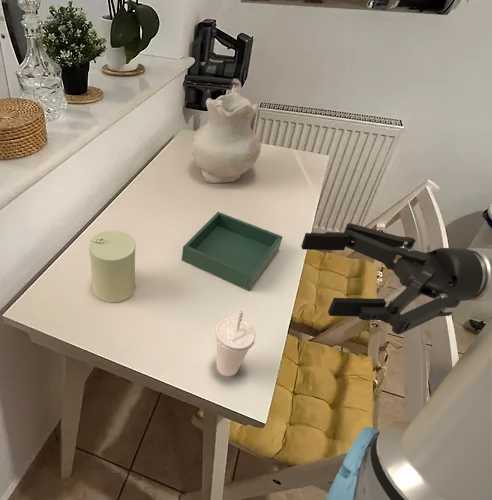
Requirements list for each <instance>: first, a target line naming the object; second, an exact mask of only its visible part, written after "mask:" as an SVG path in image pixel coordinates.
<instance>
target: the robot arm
mask: <svg viewBox="0 0 492 500" xmlns="http://www.w3.org/2000/svg"><path fill="white" fill-rule="evenodd" d="M415 243H416V239H415V238H414V237H411V236H400V235H396V234H392V233H388V232H384V231H381V230H378V229H373V228H370V227H366V226H362V225H358V224H355V223H351V222H348V223H346V226H345V227H344V231H342V232H341V231H340V232H339V231H335V232H334V231H332V232H331V231H326V232H305V234H304V237H303V240H302V243H301V246H300V248H301V249H302V250H307V251H308V250H309V251H310V250H311V251H345V249H346V248H347V249H350V250H352V251H354V252H357V253H359V254H361V255H363V256H366V257H368V258H370V259H373V260H374V261H377V262H379V263H381V264H384V266H385V268H387V269H389V270H391V271H393V274H394V275H395V276H396V277H397V278H398V279H399V283H400V285H401V286H402V287H405V289H404V290H402V292H400V293H399V294H398V295H397V296H396V297H395V298H394V299H392V300H390V301H389V303H388V305H387V301H386V300H385V298H368V297H367V298H365V297H364V298H360V297H358V298H357V297H333V299H332V301H331V303H330V305H329V308H328V310H327V314H328V316H329V317H354V318H355V317H357V318H358V319H359V320H362V321H376V322H377V321H378V322H379V321H381V322H383V323H385V324H389V326H390V327H391V331H392V332H393V333H394V334H396V335H402V334H404V333H406V332H408V331H410V330H413V329H415V328H416V327H418V326H421V325H423V324H425V323H427V322H429V321H431V320H434V319H436V318H437V317H450V316H452V314H453V313H454V312H455V310H456V309H457V307H458V306H459V305H460V303H461V302H465V301H466V302H467V301H471V302H492V248H486V247H485V248H481V247H469V248H464V247H437V248H436V249H433V250H431V251H429V252H424V251H420V250H416V247H415V246H414V245H415ZM397 256H400V257H399V258H398V259H397V261H396V263H395V259H396V257H397ZM420 295H423V296H425V297H427V298H431V300H430V301H428V302H425V303H424V304H421V305H419V306H417V307H414V308H413V309H411V310H408V311H406V312H404V313H402V312H403V311H404V310H405V309H406V308H407V307H408V306H409V305H410V304H411V303H412V302H414V301H415V300H416V299H417V298H418V297H419V296H420ZM386 305H387V306H386ZM325 500H492V316H491V317H490V318H489V320H488V321H487V322H486V323H485V325H484V326H483V328H482V329H481V330H480V331H479V333H478V334H477V335H476V336H475V338H474V339H473V340H472V342H471V343H470V344H469V346H468V347H467V348H466V350H465V351H463V354H461V356H460V357H459V359H458V360H457V361H456V363H455V364H454V365H453V367H452V368H451V369H450V371H449V372H448V373H447V375H445V376H444V378H443V379H442V381H441V382H440V384H438V386H437V387H436V389H434V392H433V393H432V394H431V395H430V397H429V398H428V399H427V401H426V402H425V403H424V404H423V406H422V407H421V408H420V410H419V411H418V412H417V413H416V415H415V416H414V418H413V419H412V420H411V421H405V420H402V421H399V420H398V421H394V422H391V423H389V424H387V425H385V426H384V427H383V428H382V430H380V429H376V428H374V427H371V426H365V427H363V428H362V429H361V430H360V431H359V432H358V434H357V436H356V438H355V439H354V440H353V442H352V444H351V446H350V448H349V449H348V452H347V453H346V455H345V457H344V459H343V462H342V465H341V466H340V467H339V470H338V472H337V473H336V476H335V478H334V480H333V481H332V483H331V486H330V489H329V491H328V493H327V496H326V499H325Z"/></svg>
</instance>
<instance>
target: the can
mask: <svg viewBox="0 0 492 500" xmlns="http://www.w3.org/2000/svg"><path fill="white" fill-rule="evenodd" d="M136 247H137V244H136V240H135V239H134V237H133V236H131V235H130V234H128V233H127V232H125V231H120V230H105V231H102V232H99V233H97V234H96V235H94V236H93V237H92V238H91V239H90V240H89V243H88V250H89V251H88V252H89V257H90V258H89V260H90V270H91V291H92V293H93V295H94V296H95V297H96V298H97V299H98V300H100V301H103V302H106V303H120V302H124V301H126V300H128V299H129V298H131V297H132V296H133V295H134V294H135V291H136V288H137V285H136Z"/></svg>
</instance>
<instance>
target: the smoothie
mask: <svg viewBox="0 0 492 500" xmlns="http://www.w3.org/2000/svg"><path fill="white" fill-rule="evenodd" d="M243 314H244V311H243V310H240V311H239V312H238V316H237V317H227V318H224V319H222V320H220V321H219V322H218V324H217V326H216V328H215V332H214V336H215V339H216V369H217V371H218V373H220V374H221V375H222V376H224V377H233V376H235V375H236V374H237V373H238V371H239V369H240V367H241V365H242V363H243V361H244V359H245V357H246V356H247V354H248V352H249V350H250V349H251V348H252V347H253V346H254V345H255V341H256V332H255V330H254V328H253V326H252V325H251V324H250V323H248V322H247V321H246V320H244V319H242V318H243Z"/></svg>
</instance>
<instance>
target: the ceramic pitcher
mask: <svg viewBox="0 0 492 500" xmlns="http://www.w3.org/2000/svg"><path fill="white" fill-rule="evenodd" d="M231 84H232V88H231V92H230V93H229V94H224V95H220V96H218V97H217V98H216V99H213V98H211V97H208V98H207V99H206V101H205V104H206V108H207V112H208V121H207V123H206V124H204V125H202V126H200V127H199V128H198V129H197V130H196V131H195V132H194V133H193V135H192V138H191V142H190V143H191V145H190V152H191V156H192V158H193V161H194V163H195V164H196V166H197V167H198V168H199V169H200V170H201V171H200V172H201V177H202V180H204V181H205V182H206V183H209V184H221V183H222V184H223V183H235V182H237V181H239V180H240V179H241V178H242V177H243V175H242V174H244V173H246V172H248V171H249V170H250V169H251V168H252V167H253V166H254V165H255V163H256V162H257V161H258V158H259V157H260V154H261V150H262V143H261V140H260V138H259V136H258V134H257V133H256V132H255V131H254V130H253V129H252V126H251V125H252V124H251V123H252V120H253V118H254V116H255V115H256V114H257V113H258V110H260V104H259V103H254V104H252V103H251V101H250V100H249V99H248V98H245V97H244V96H242V94H241V91H242V83H241V81H240V80H239V78H237V77H236V78H233V79H232V81H231Z"/></svg>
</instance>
